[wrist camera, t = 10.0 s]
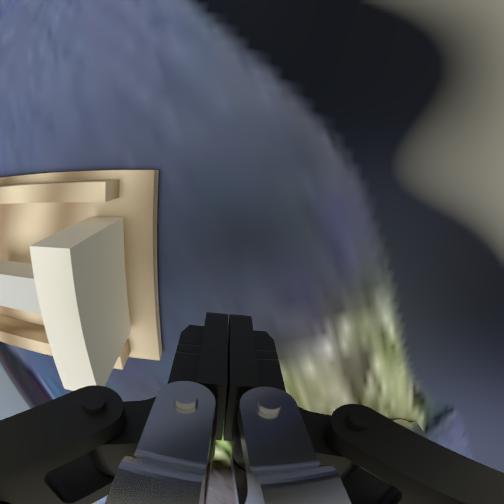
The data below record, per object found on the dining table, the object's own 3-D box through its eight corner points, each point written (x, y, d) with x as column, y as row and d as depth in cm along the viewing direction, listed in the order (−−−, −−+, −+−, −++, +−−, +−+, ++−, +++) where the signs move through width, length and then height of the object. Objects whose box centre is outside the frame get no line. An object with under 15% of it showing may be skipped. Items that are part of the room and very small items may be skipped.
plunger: (123, 217, 14) (69, 248, 9) (131, 331, 16) (99, 396, 11) (-3, 215, 13) (-64, 239, 8) (13, 311, 15) (-33, 353, 10)
